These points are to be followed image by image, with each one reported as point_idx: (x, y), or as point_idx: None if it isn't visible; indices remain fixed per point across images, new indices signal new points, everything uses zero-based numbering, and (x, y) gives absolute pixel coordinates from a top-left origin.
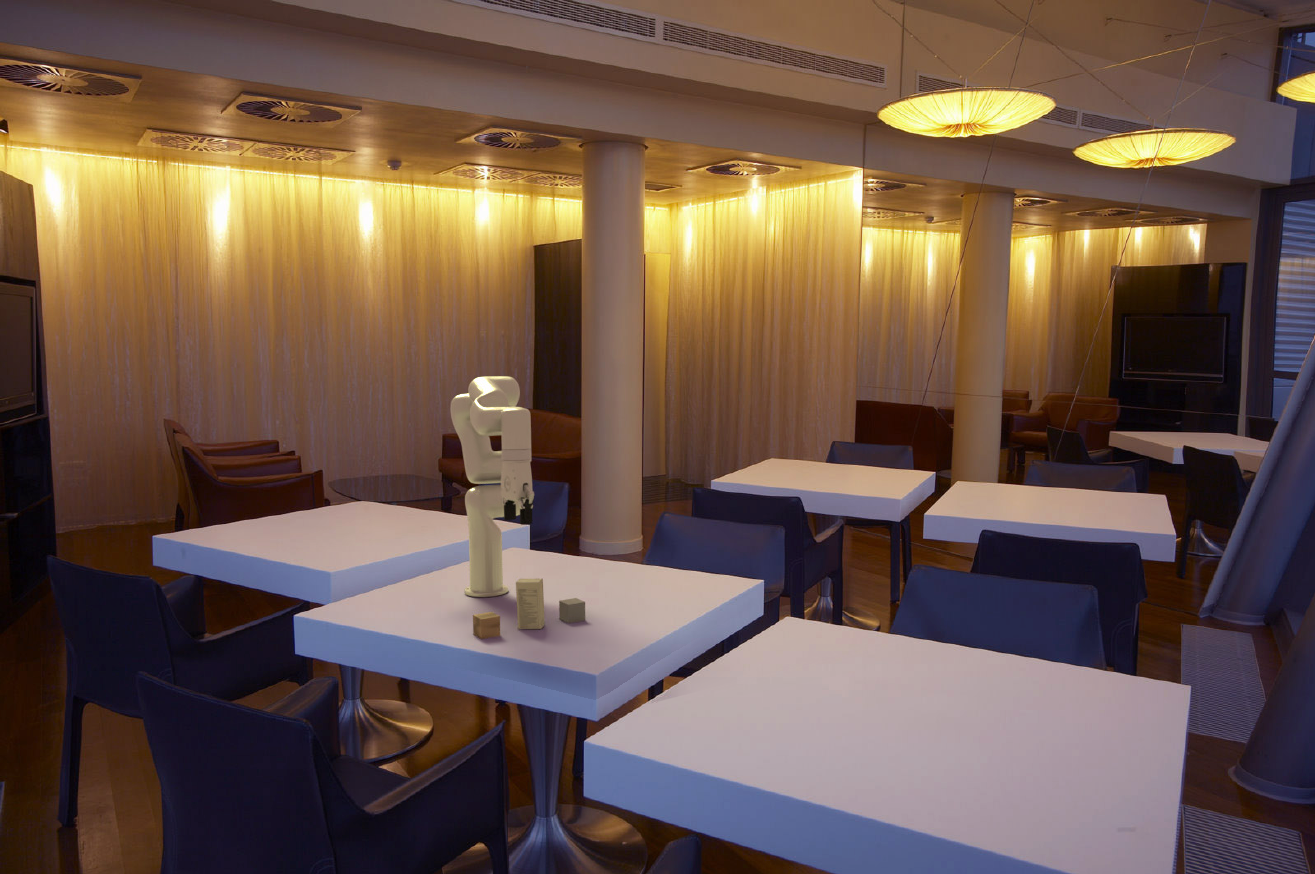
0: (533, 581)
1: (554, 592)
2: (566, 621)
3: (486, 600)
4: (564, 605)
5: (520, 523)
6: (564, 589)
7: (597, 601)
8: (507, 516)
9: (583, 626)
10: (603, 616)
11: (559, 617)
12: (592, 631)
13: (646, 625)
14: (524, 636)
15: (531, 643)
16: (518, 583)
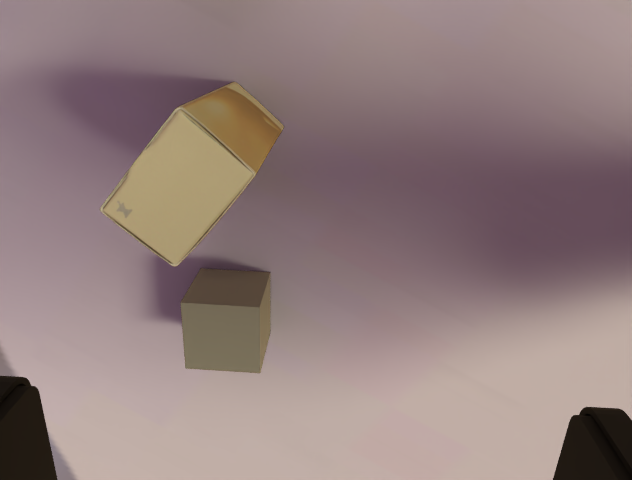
0: (128, 192)
1: None
2: (214, 270)
3: None
4: (216, 299)
5: (1, 378)
6: None
7: (387, 465)
8: (590, 473)
9: (138, 287)
10: (212, 390)
11: (268, 274)
12: (68, 279)
13: (55, 426)
14: (123, 52)
15: (22, 29)
16: (169, 116)
